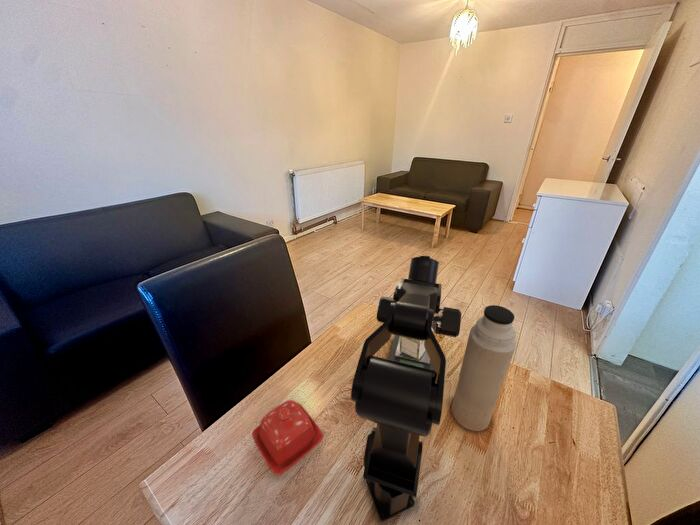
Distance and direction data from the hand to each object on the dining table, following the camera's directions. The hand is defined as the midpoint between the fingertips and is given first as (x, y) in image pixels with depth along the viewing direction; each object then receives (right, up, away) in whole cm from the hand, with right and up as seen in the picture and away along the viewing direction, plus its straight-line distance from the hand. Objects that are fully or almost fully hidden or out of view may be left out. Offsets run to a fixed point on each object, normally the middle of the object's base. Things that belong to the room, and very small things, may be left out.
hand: (417, 321), depth 74 cm
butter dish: (-30, -21, -15) cm, 40 cm away
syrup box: (-1, -8, +2) cm, 9 cm away
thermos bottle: (+9, -19, -11) cm, 23 cm away
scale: (0, -11, +4) cm, 12 cm away
